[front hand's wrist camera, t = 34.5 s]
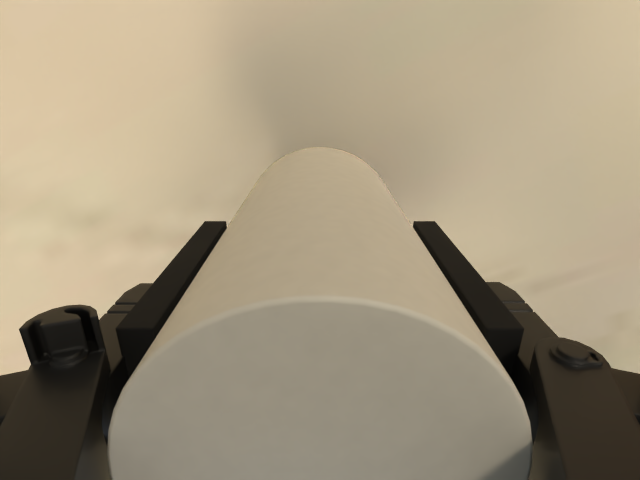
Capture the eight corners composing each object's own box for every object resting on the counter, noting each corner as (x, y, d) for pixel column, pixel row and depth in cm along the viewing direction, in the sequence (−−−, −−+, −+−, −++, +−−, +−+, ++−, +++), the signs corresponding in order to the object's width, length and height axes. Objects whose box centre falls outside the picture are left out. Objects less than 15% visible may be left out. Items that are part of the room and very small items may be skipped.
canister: (339, 114, 16) (391, 195, 4) (418, 236, 18) (600, 515, 6) (217, 203, 18) (10, 443, 6) (304, 307, 20) (280, 640, 8)
